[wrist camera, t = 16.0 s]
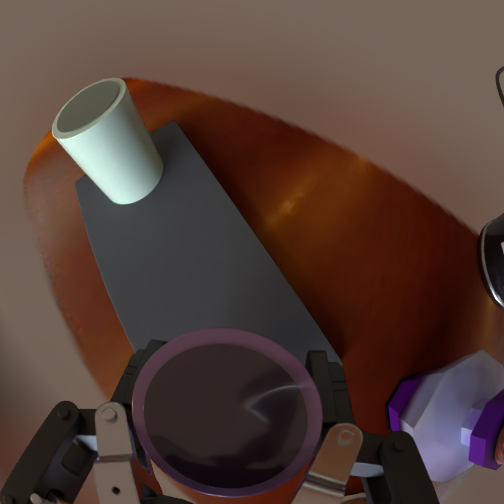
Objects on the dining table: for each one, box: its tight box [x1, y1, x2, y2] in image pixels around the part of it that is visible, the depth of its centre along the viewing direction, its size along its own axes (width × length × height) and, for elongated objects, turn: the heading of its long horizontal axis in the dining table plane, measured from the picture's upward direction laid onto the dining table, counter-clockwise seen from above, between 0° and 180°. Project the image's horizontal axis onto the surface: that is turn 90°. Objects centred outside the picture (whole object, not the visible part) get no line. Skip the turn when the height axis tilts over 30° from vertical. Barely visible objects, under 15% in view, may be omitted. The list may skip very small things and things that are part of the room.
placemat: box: [75, 120, 343, 367], centre depth 20 cm, size 12×26×1 cm, turn 32°
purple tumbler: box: [132, 327, 323, 497], centre depth 11 cm, size 6×6×9 cm
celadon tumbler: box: [52, 78, 163, 204], centre depth 18 cm, size 6×6×9 cm
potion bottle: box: [385, 349, 504, 483], centre depth 10 cm, size 9×9×12 cm
